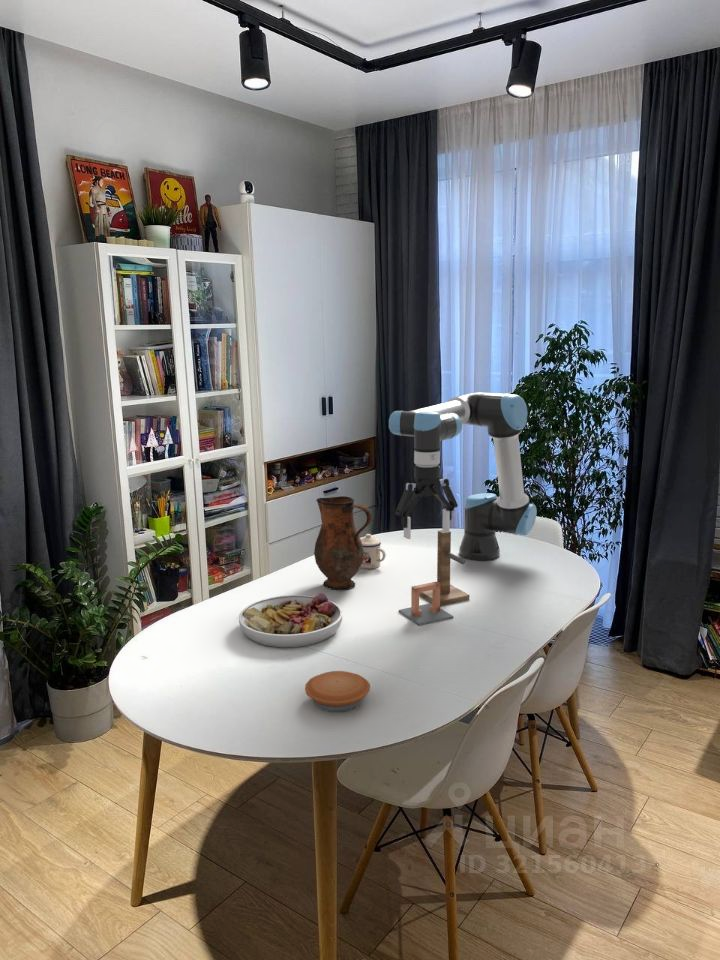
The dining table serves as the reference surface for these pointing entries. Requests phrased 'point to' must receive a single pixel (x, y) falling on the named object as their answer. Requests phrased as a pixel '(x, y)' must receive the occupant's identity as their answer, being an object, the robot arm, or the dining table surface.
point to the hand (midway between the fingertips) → (426, 534)
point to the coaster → (426, 615)
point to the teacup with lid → (371, 552)
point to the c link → (421, 588)
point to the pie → (337, 690)
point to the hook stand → (446, 572)
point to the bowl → (291, 620)
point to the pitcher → (339, 542)
